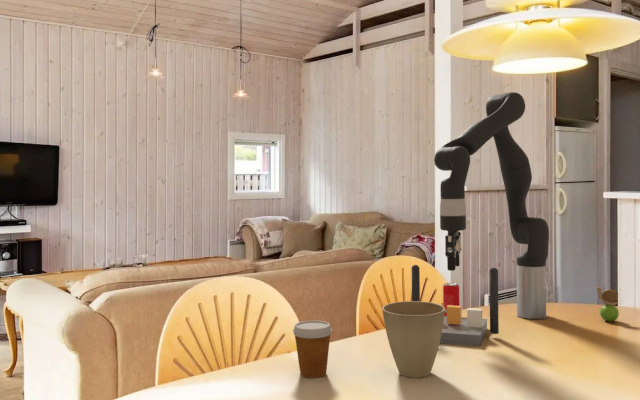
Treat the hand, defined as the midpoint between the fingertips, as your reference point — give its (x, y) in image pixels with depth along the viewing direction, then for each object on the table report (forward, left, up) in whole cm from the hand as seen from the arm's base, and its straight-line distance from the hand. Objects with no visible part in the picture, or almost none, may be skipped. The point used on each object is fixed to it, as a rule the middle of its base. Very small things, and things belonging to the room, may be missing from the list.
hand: (453, 268), depth 173 cm
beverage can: (+4, -17, -20) cm, 27 cm away
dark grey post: (-11, 0, -19) cm, 22 cm away
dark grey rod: (+12, 0, -19) cm, 22 cm away
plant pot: (+4, +38, -20) cm, 43 cm away
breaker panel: (0, 0, -20) cm, 20 cm away
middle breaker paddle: (0, 0, -16) cm, 16 cm away
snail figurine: (-44, -31, -20) cm, 57 cm away
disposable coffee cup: (+27, +46, -20) cm, 57 cm away
